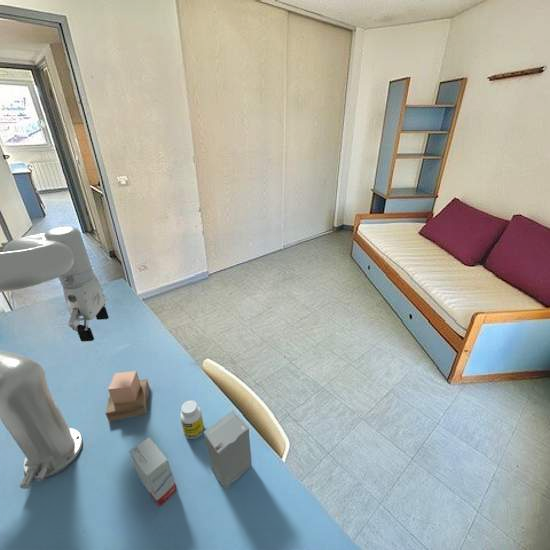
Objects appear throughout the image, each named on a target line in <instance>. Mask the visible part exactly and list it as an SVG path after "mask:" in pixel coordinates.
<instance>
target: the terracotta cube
mask: <svg viewBox="0 0 550 550" xmlns="http://www.w3.org/2000/svg"><path fill="white" fill-rule="evenodd" d="M139 380H140V378H139V375H138V371H137V370H133V371H122V372H115V373H114V375H113V377H112V379H111V382H110V384H109V385H108V389H107V390H108V393H109V397H110V396H111V398H112V401H113V403H114V404H118V403H127V402H135V401H136V398H137V395H138V392H139V389H140V386H141V384H140V381H139Z"/></svg>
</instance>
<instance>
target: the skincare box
mask: <svg viewBox="0 0 550 550" xmlns="http://www.w3.org/2000/svg"><path fill="white" fill-rule="evenodd" d="M203 436H204V441H205V445H206V449H207V455H208V459H209V463H210V469H211V471H212V472H213V473H214V475H215V477H216V478H217V480H218V481H219V482H220V484H221V485H222V486H223V488H224V489H225V490H226V489H228V488H229V487H230V486H231V485H232V484H233V483H234V482H235V481H236V480H237V479H239V478H240V477H241V476H242V475H243V474H244V473H246V471H248V470H249V468H251V467H252V451H251V441H250V438H251V437H250V428H249V426H248V425H246V423H245V422H244V421H243V420H242V419H241V418H240V417H239V416H238V415H237V413H236V412H235V411H234V410H232V411H230V412H229V413H227V414H226V415H225V416H223V417H222V418H220V419H219V420H217V421H216V422H215V423H213V424H212V425H211V426H209V427H208V428H206V429H205V430H203Z"/></svg>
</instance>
